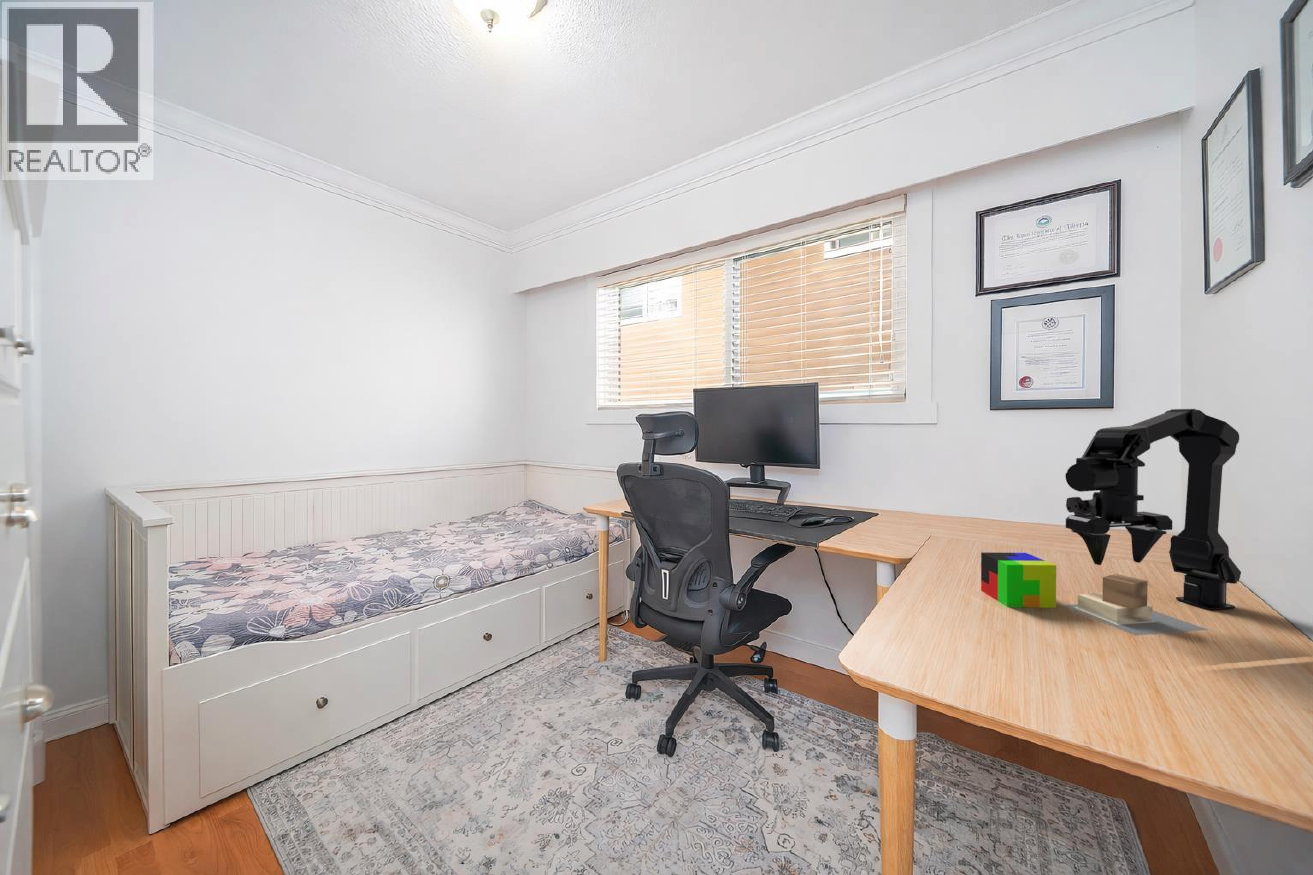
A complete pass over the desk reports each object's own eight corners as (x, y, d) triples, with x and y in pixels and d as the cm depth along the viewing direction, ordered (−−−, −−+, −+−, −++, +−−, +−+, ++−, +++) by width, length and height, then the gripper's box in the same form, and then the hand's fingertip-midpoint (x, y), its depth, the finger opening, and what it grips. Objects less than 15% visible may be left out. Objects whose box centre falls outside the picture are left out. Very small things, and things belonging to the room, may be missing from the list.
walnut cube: (1116, 597, 103) (1116, 573, 102) (1147, 605, 98) (1147, 580, 98) (1102, 600, 101) (1102, 576, 101) (1133, 609, 96) (1133, 584, 96)
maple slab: (1110, 605, 105) (1111, 592, 105) (1152, 620, 98) (1152, 606, 97) (1077, 608, 105) (1078, 594, 105) (1116, 623, 97) (1117, 608, 97)
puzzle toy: (1025, 594, 115) (1025, 552, 115) (1055, 610, 105) (1056, 565, 105) (981, 593, 116) (981, 552, 116) (1006, 609, 106) (1007, 564, 106)
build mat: (1125, 603, 108) (1125, 600, 108) (1209, 632, 93) (1209, 629, 93) (1060, 607, 106) (1060, 605, 106) (1135, 638, 92) (1135, 635, 92)
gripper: (1117, 482, 109) (1116, 550, 110) (1042, 485, 107) (1041, 555, 108) (1175, 489, 98) (1174, 565, 99) (1092, 492, 96) (1092, 570, 97)
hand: (1117, 563), depth 101 cm, fingers open, 9 cm apart
